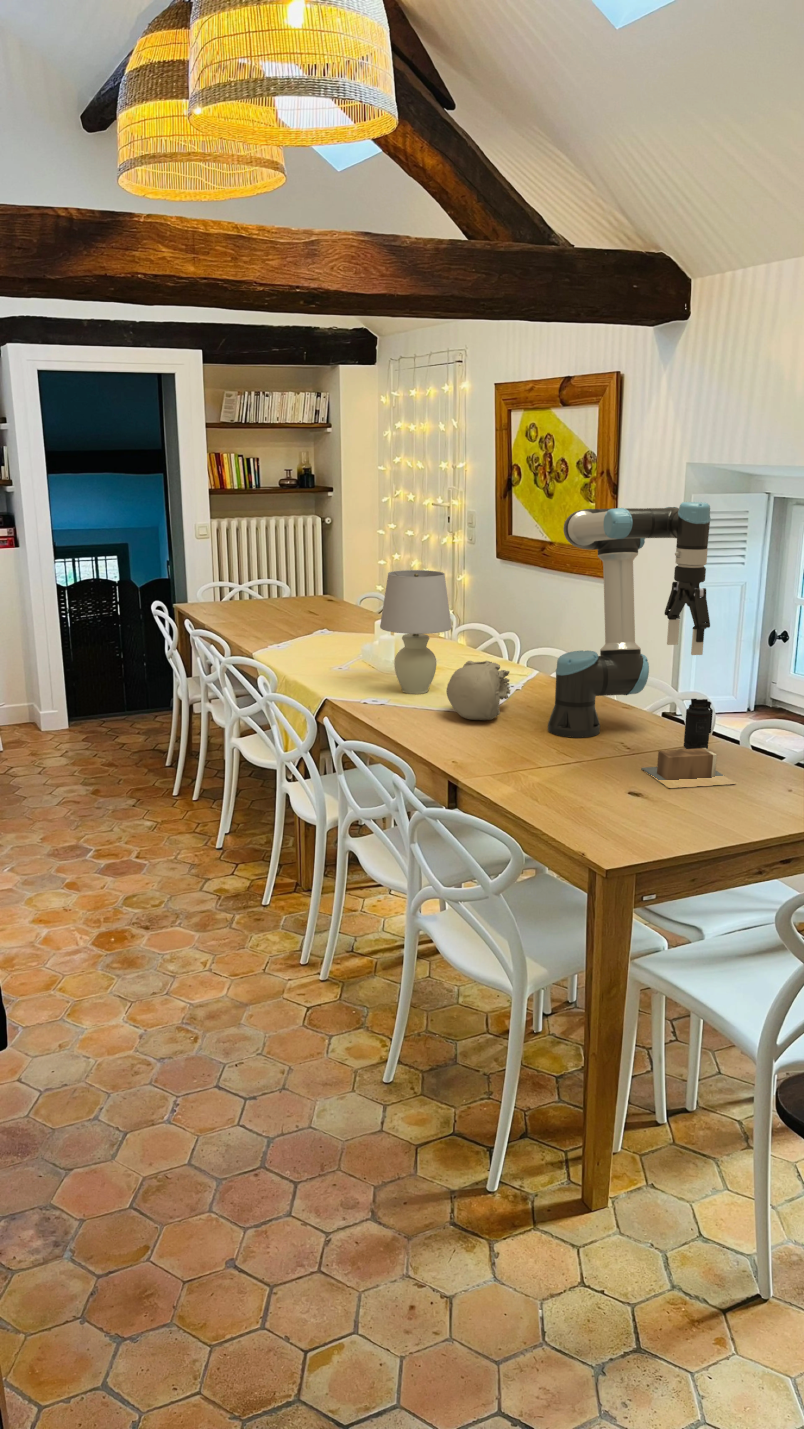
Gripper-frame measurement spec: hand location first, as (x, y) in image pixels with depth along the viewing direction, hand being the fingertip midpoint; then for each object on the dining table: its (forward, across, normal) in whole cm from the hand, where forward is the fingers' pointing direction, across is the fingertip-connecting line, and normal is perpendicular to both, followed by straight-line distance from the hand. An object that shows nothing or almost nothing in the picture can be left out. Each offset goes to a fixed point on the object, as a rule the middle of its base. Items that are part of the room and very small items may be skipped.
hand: (684, 649), depth 270 cm
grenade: (+32, -14, +13) cm, 37 cm away
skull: (+32, -62, -36) cm, 79 cm away
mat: (+32, +7, 0) cm, 32 cm away
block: (+28, +7, -7) cm, 30 cm away
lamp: (+32, -98, -48) cm, 114 cm away
